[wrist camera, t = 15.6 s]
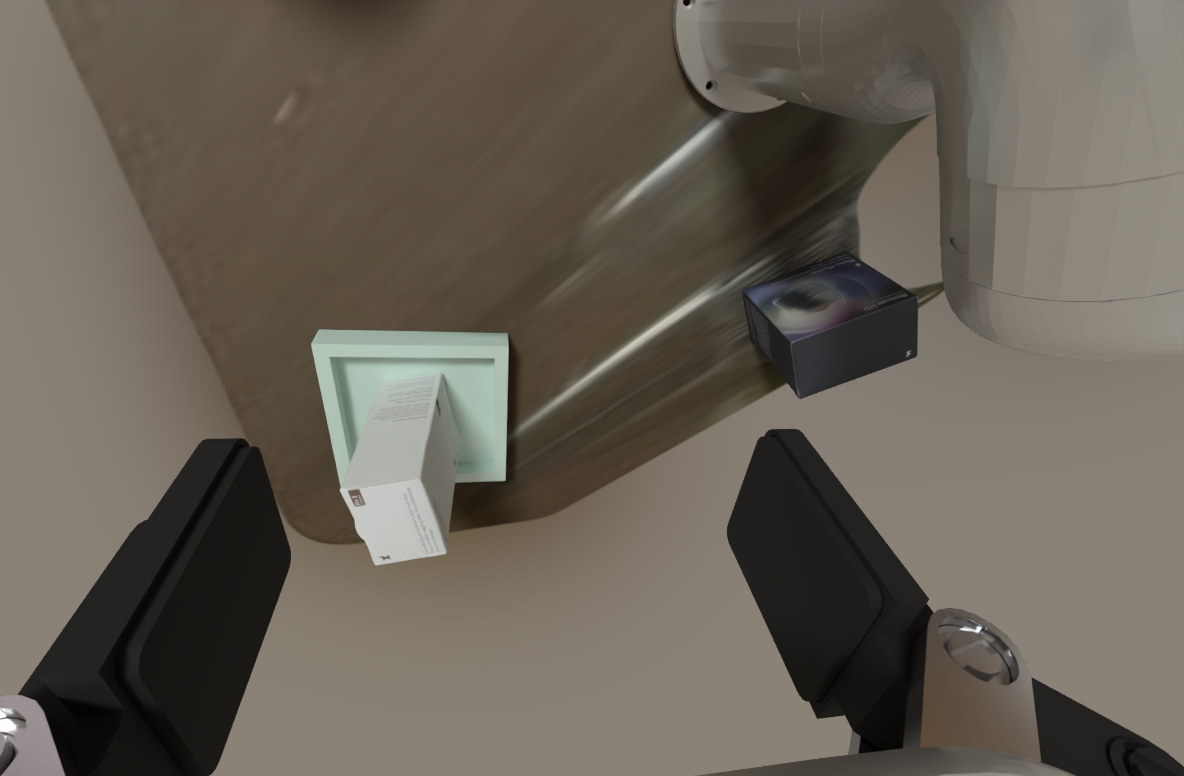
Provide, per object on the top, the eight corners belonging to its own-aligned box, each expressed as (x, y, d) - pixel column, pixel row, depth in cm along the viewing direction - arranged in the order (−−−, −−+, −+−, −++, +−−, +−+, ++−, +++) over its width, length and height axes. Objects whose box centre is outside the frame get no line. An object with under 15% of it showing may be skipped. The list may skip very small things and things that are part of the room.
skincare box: (461, 436, 54) (453, 557, 42) (400, 446, 53) (374, 572, 41) (440, 366, 49) (425, 480, 37) (373, 377, 48) (335, 496, 36)
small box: (848, 245, 50) (923, 292, 41) (851, 304, 53) (920, 358, 45) (739, 287, 50) (791, 342, 42) (750, 342, 54) (799, 403, 45)
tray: (507, 333, 49) (508, 346, 47) (504, 464, 58) (505, 480, 56) (318, 329, 46) (311, 343, 44) (346, 469, 55) (340, 486, 53)
